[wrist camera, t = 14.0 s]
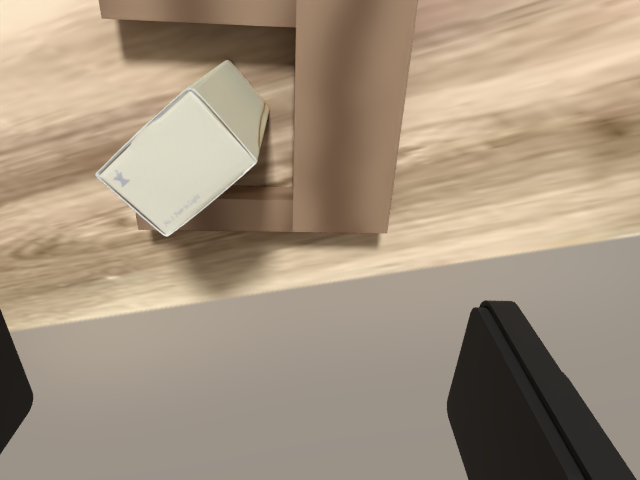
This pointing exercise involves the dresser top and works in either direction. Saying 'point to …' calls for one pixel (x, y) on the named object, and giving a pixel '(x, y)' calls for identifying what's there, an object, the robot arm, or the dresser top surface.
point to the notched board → (316, 110)
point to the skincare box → (190, 150)
